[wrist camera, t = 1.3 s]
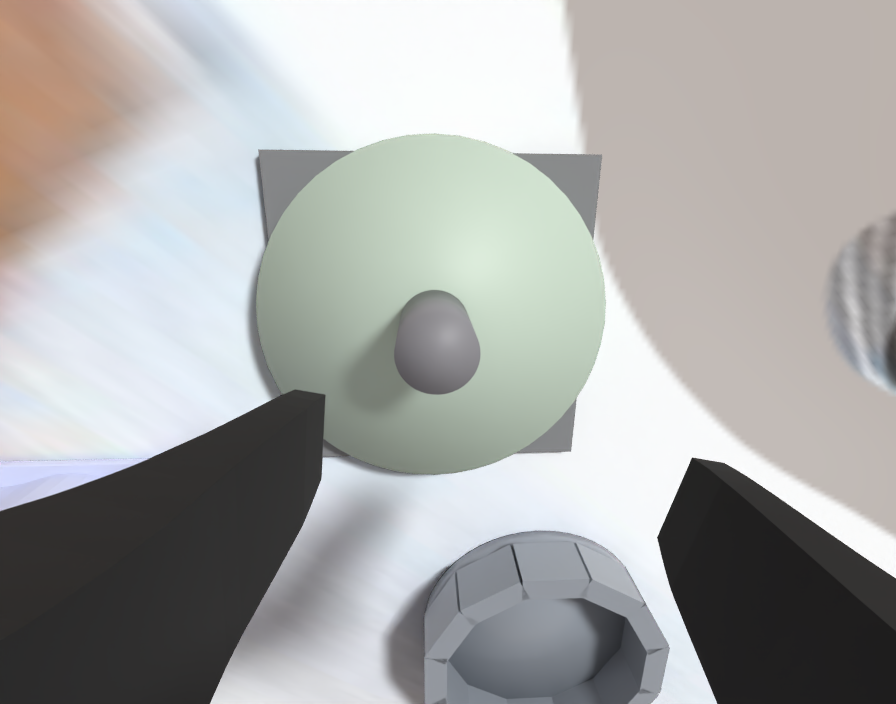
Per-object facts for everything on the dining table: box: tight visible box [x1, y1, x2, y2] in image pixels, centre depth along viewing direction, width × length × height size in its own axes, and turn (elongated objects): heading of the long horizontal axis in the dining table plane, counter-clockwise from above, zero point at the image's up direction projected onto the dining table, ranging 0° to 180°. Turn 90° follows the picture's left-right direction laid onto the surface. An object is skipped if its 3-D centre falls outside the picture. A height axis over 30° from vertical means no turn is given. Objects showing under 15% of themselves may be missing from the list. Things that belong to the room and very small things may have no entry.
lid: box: [256, 134, 606, 475], centre depth 16 cm, size 13×13×4 cm
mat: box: [258, 150, 602, 457], centre depth 18 cm, size 12×12×1 cm
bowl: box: [424, 531, 670, 704], centre depth 22 cm, size 11×11×3 cm
